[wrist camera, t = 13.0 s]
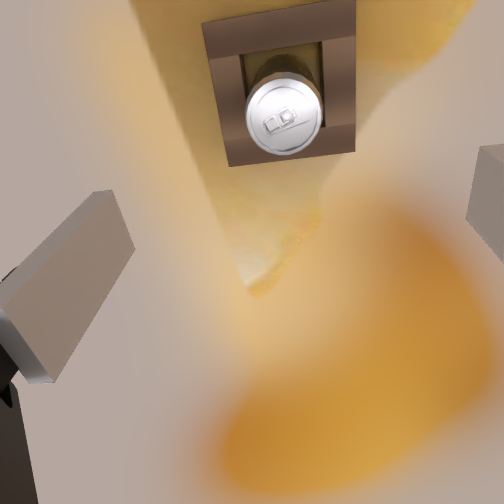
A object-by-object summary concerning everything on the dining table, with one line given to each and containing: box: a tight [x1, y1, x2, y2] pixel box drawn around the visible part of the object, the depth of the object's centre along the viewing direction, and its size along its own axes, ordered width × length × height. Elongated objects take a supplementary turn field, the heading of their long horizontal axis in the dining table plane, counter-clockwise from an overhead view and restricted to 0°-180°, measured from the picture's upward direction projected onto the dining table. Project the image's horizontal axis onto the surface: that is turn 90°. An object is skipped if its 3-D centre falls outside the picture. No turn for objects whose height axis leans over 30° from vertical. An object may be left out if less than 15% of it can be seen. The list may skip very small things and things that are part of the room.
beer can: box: [244, 55, 323, 155], centre depth 29 cm, size 5×5×12 cm
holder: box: [201, 0, 356, 167], centre depth 33 cm, size 12×12×3 cm
